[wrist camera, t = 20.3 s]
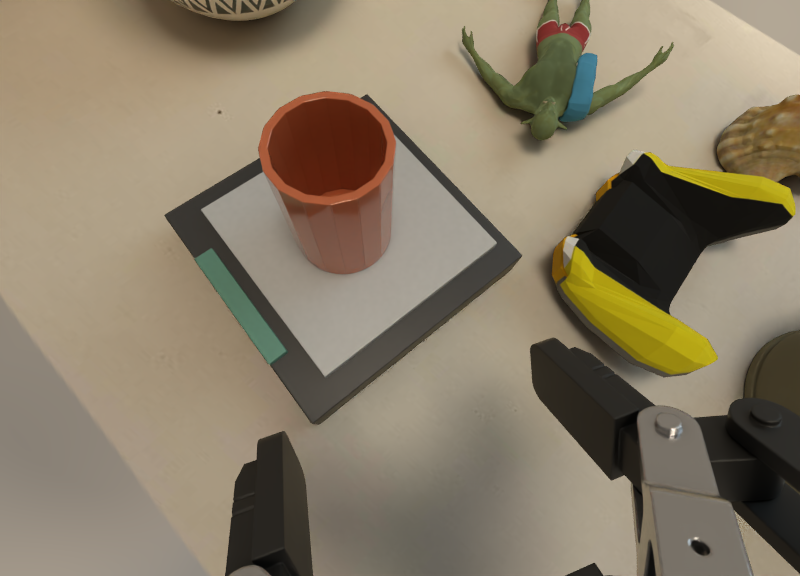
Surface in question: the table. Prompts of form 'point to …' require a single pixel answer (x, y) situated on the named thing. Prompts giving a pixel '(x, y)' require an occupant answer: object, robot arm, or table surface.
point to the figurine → (558, 74)
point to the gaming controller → (657, 254)
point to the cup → (332, 178)
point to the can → (777, 373)
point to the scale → (343, 277)
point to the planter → (235, 8)
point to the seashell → (764, 141)
